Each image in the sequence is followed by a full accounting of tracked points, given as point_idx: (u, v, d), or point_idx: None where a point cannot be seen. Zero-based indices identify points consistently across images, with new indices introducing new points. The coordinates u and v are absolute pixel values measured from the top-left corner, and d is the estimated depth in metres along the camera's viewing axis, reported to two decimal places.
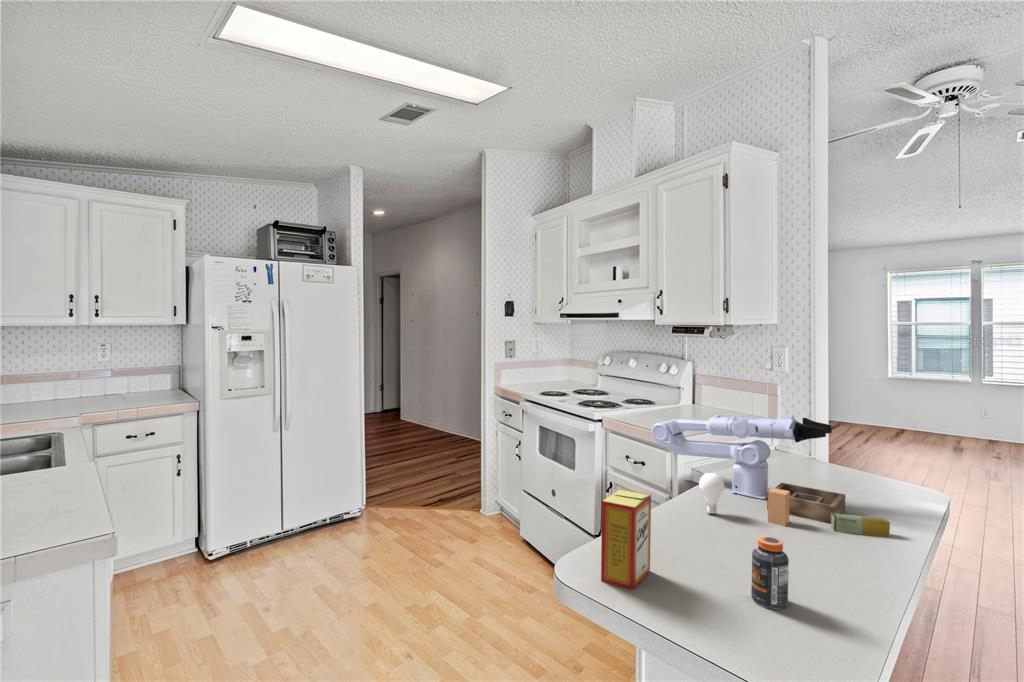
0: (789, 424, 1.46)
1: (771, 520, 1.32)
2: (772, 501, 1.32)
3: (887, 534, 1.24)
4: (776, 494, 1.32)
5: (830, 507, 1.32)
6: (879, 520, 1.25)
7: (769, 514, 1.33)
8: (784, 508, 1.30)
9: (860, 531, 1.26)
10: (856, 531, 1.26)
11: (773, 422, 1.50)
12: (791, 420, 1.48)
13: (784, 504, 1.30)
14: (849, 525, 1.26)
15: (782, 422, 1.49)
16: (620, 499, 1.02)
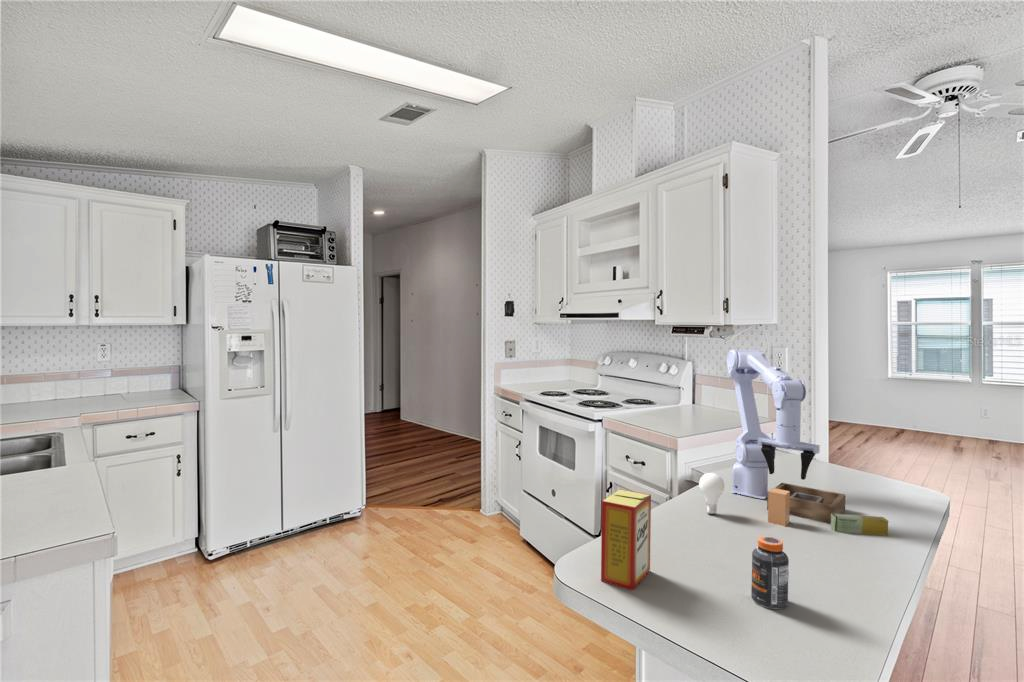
0: (770, 442, 1.39)
1: (771, 520, 1.32)
2: (772, 501, 1.32)
3: (886, 533, 1.25)
4: (776, 494, 1.31)
5: (830, 507, 1.32)
6: (878, 519, 1.26)
7: (769, 514, 1.33)
8: (784, 508, 1.30)
9: (860, 530, 1.26)
10: (856, 531, 1.26)
11: (778, 425, 1.38)
12: (778, 444, 1.37)
13: (784, 504, 1.30)
14: (850, 525, 1.26)
15: (777, 435, 1.38)
16: (620, 499, 1.02)
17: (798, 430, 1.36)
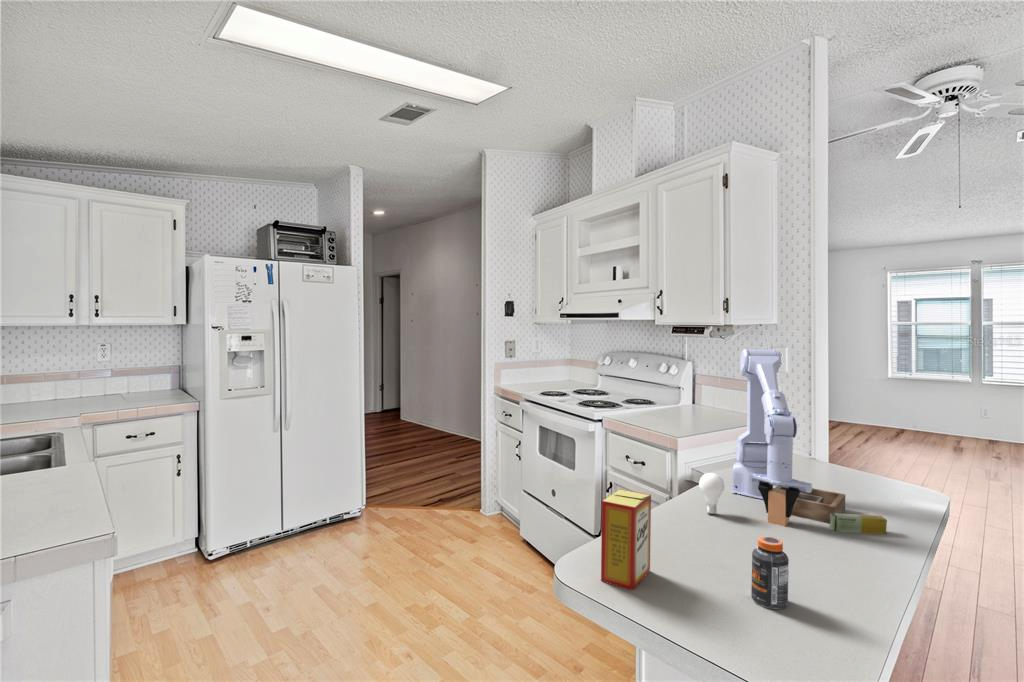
0: (761, 479, 1.34)
1: (771, 520, 1.32)
2: (772, 501, 1.32)
3: (884, 531, 1.26)
4: (776, 494, 1.32)
5: (830, 507, 1.32)
6: (876, 518, 1.26)
7: (769, 514, 1.33)
8: (784, 508, 1.30)
9: (859, 530, 1.27)
10: (855, 530, 1.27)
11: (769, 462, 1.33)
12: (770, 481, 1.32)
13: (784, 504, 1.30)
14: (849, 524, 1.27)
15: (768, 471, 1.33)
16: (620, 499, 1.02)
17: (789, 468, 1.30)
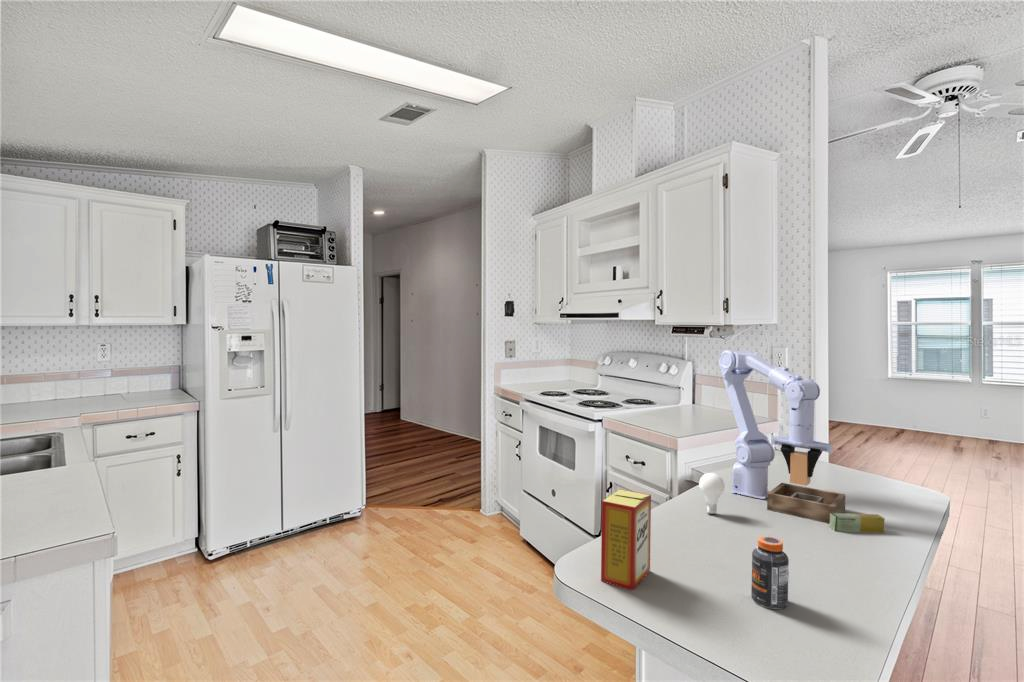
0: (784, 441, 1.41)
1: (793, 480, 1.39)
2: (794, 462, 1.39)
3: (882, 530, 1.27)
4: (798, 455, 1.38)
5: (830, 507, 1.32)
6: (874, 517, 1.27)
7: (791, 475, 1.39)
8: (806, 468, 1.37)
9: (858, 529, 1.27)
10: (855, 529, 1.27)
11: (791, 425, 1.39)
12: (792, 443, 1.39)
13: (806, 464, 1.37)
14: (849, 524, 1.27)
15: (791, 434, 1.40)
16: (620, 499, 1.02)
17: (811, 430, 1.37)
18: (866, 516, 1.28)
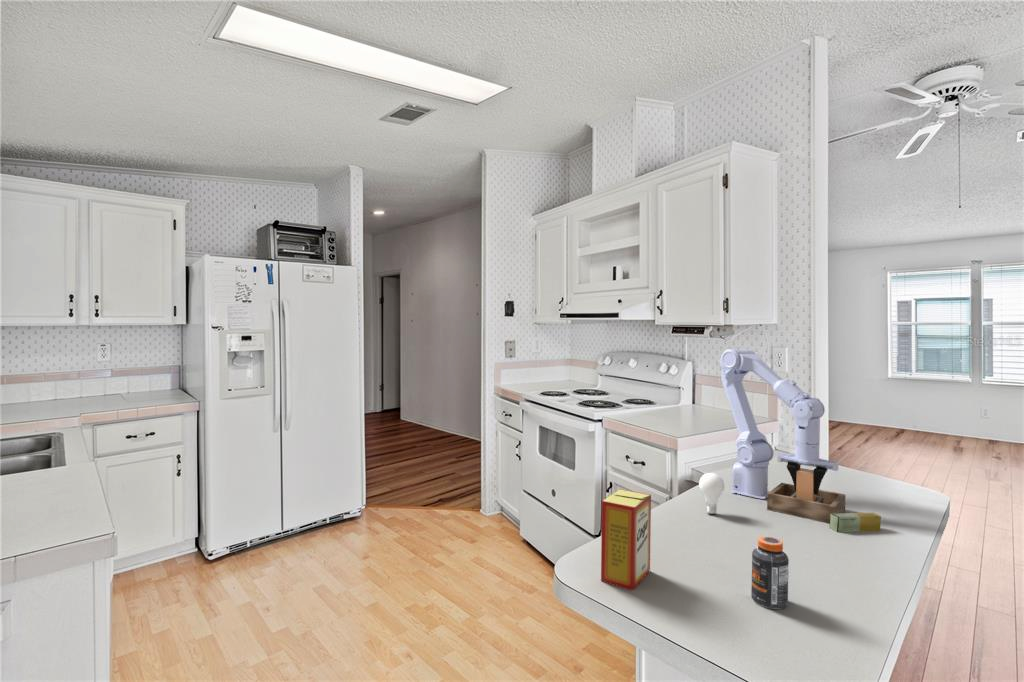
0: (790, 459, 1.43)
1: (799, 498, 1.41)
2: (800, 480, 1.41)
3: (879, 528, 1.28)
4: (804, 473, 1.40)
5: (830, 507, 1.32)
6: (872, 515, 1.28)
7: (797, 492, 1.42)
8: (812, 486, 1.39)
9: (858, 528, 1.27)
10: (855, 529, 1.27)
11: (797, 443, 1.42)
12: (798, 461, 1.41)
13: (812, 482, 1.39)
14: (850, 524, 1.27)
15: (797, 452, 1.42)
16: (620, 499, 1.02)
17: (817, 448, 1.39)
18: (864, 515, 1.28)
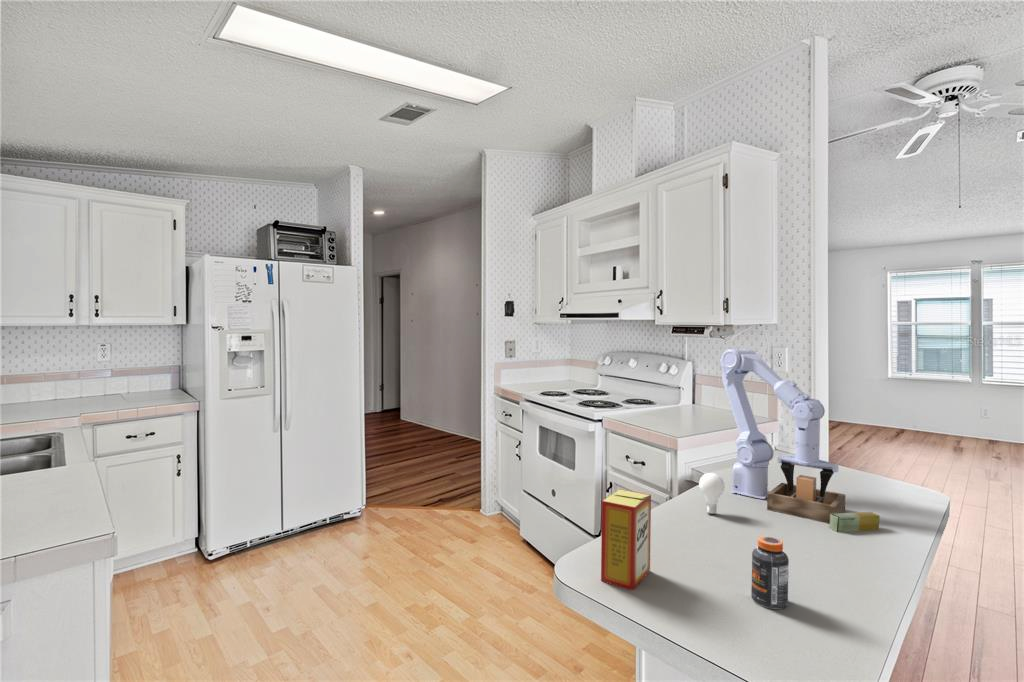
0: (790, 460, 1.43)
1: None
2: (800, 487, 1.41)
3: (877, 527, 1.29)
4: (804, 480, 1.40)
5: (830, 507, 1.32)
6: (870, 515, 1.29)
7: None
8: (812, 493, 1.39)
9: (857, 528, 1.28)
10: (854, 529, 1.28)
11: (797, 444, 1.42)
12: (798, 462, 1.41)
13: (812, 489, 1.39)
14: (849, 523, 1.27)
15: (797, 453, 1.42)
16: (620, 499, 1.02)
17: (817, 449, 1.39)
18: (863, 514, 1.29)
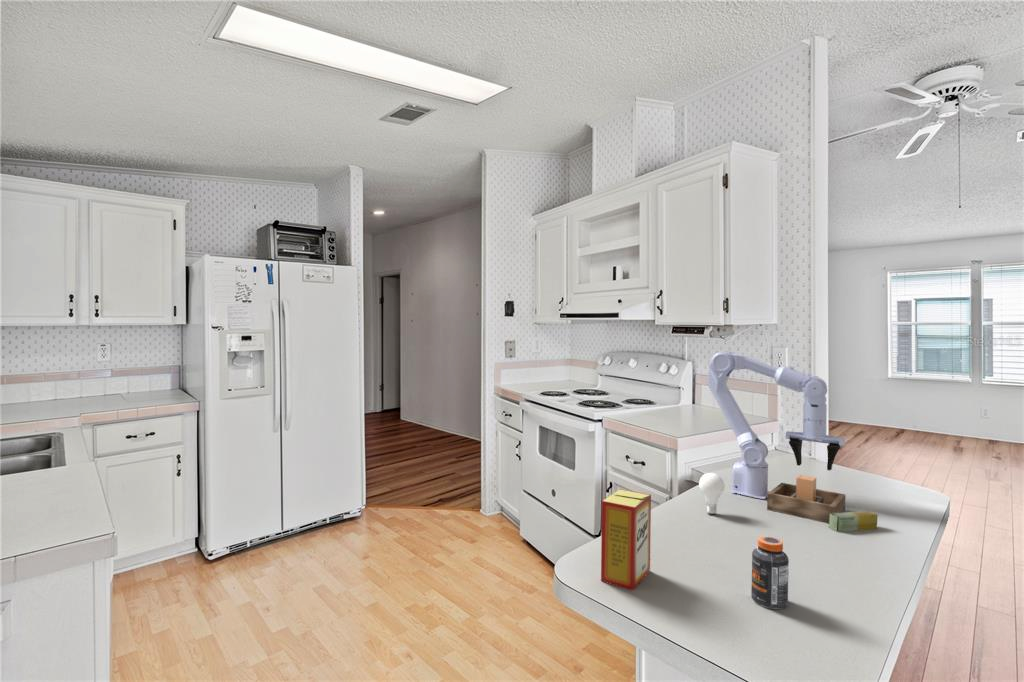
0: (798, 436, 1.49)
1: None
2: (800, 487, 1.41)
3: (875, 526, 1.29)
4: (804, 480, 1.40)
5: (830, 507, 1.32)
6: (869, 514, 1.29)
7: None
8: (812, 493, 1.39)
9: (856, 527, 1.28)
10: (853, 528, 1.28)
11: (805, 420, 1.47)
12: (806, 437, 1.47)
13: (812, 489, 1.39)
14: (848, 523, 1.27)
15: (804, 428, 1.47)
16: (620, 499, 1.02)
17: (824, 424, 1.45)
18: (862, 514, 1.29)
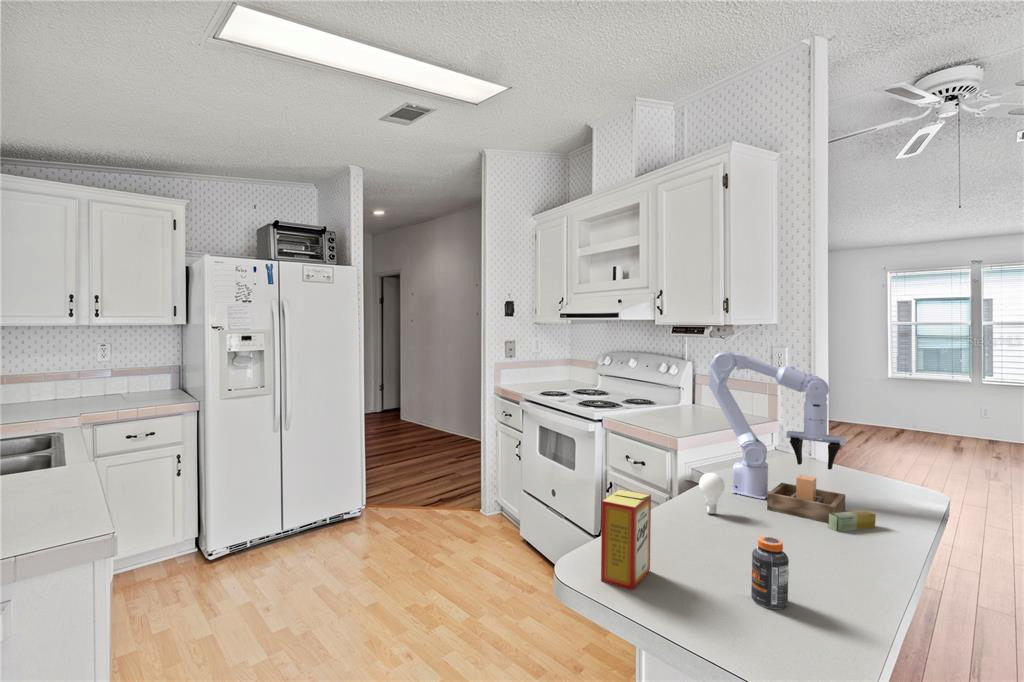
0: (799, 435, 1.50)
1: None
2: (800, 487, 1.41)
3: (873, 525, 1.30)
4: (804, 480, 1.40)
5: (830, 507, 1.32)
6: (867, 513, 1.30)
7: None
8: (812, 493, 1.39)
9: (855, 527, 1.28)
10: (852, 528, 1.28)
11: (806, 419, 1.48)
12: (807, 436, 1.47)
13: (812, 489, 1.39)
14: (848, 523, 1.28)
15: (805, 428, 1.48)
16: (620, 499, 1.02)
17: (825, 424, 1.46)
18: (860, 513, 1.29)
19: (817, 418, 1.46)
